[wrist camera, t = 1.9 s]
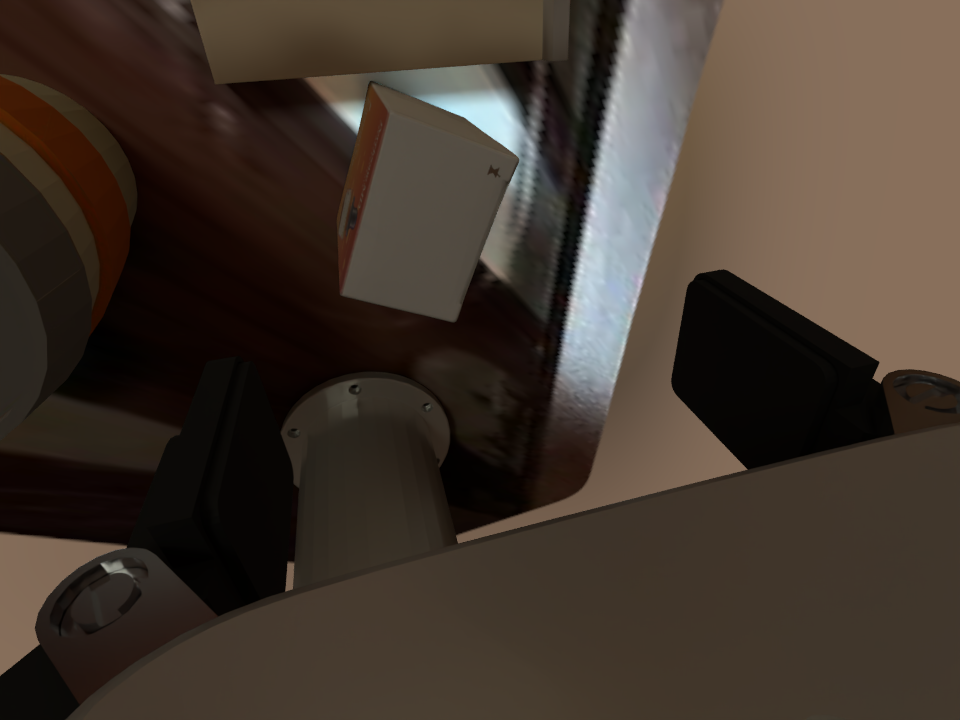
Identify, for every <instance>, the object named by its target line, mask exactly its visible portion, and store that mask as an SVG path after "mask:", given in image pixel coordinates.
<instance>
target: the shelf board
mask: <svg viewBox="0 0 960 720" xmlns="http://www.w3.org/2000/svg"><path fill="white" fill-rule="evenodd" d="M191 4H192V7H193V10H194V14H195V17H196V21H197V24H198V27H199V31H200V34H201V37H202V41H203V44H204V48H205V51H206V54H207V58H208V61H209V65H210V68H211V71H212V75H213V78H214V81H215V84H225V83H239V82H252V81H265V80H279V79H292V78H306V77H319V76H333V75H346V74H359V73H373V72H386V71H400V70H413V69H427V68H440V67H454V66H467V65H480V64H494V63H507V62H521V61H534V60H546V61H566V60H568V41H569V16H570V0H191Z"/></svg>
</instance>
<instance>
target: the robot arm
mask: <svg viewBox="0 0 960 720" xmlns="http://www.w3.org/2000/svg"><path fill="white" fill-rule="evenodd" d="M878 365H879V361H877V360H875V359H873V358H872V357H870V356H869V355H867V354H865V353H864V352H862V351H860V350H859V349H857V348H855V347H854V346H852V345H850V344H849V343H847V342H845V341H844V340H842V339H840V338H838V337H837V336H835V335H833V334H832V333H830V332H829V331H827V330H825V329H824V328H822V327H820V326H819V325H817V324H815V323H814V322H812V321H810V320H809V319H807V318H805V317H804V316H802V315H800V314H799V313H797V312H795V311H794V310H792V309H790V308H789V307H787V306H786V305H784V304H782V303H780V302H779V301H777V300H775V299H774V298H772V297H771V296H769V295H767V294H766V293H764V292H762V291H761V290H759V289H757V288H756V287H754V286H752V285H750V284H749V283H747V282H746V281H744V280H742V279H741V278H739V277H737V276H736V275H734V274H732V273H731V272H729V271H727V270H717V271H712V272H706V273H700V274H698V275H697V276H696V277H695V278H694V280H693V281H692V282H690V284H689V285H688V287H687V292H686V297H685V303H684V309H683V315H682V321H681V326H680V332H679V338H678V344H677V349H676V356H675V361H674V367H673V373H672V378H671V382H672V388H673V390H674V392H675V394H676V395H677V396H678V397H679V398H680V399H681V400H682V401H683V402H684V403H685V404H686V405H687V407H688V408H689V409H690V410H691V411H692V412H693V413H694V414H695V415H696V416H697V417H698V418H699V419H700V420H701V421H702V422H703V423H704V424H705V425H706V426H707V427H708V429H710V431H711V432H713V434H714V435H715V436H716V437H717V438H718V439H719V440H720V441H721V442H722V443H723V444H724V445H725V446H726V447H727V448H728V449H729V450H730V452H731V453H733V455H734V456H735V457H736V458H737V459H738V460H739V461H740V462H741V463H742V464H743V465H744V466H745V467H746V468H747V469H748V470H745V471H741V472H737V473H733V474H729V475H725V476H721V477H717V478H713V479H709V480H705V481H701V482H697V483H693V484H689V485H685V486H681V487H677V488H673V489H669V490H665V491H661V492H657V493H654V494H649V495H646V496H641V497H638V498H634V499H630V500H626V501H622V502H618V503H614V504H610V505H606V506H602V507H598V508H594V509H591V510H587V511H583V512H579V513H575V514H571V515H567V516H563V517H559V518H555V519H552V520H547V521H544V522H540V523H536V524H532V525H528V526H525V527H521V528H517V529H513V530H509V531H505V532H501V533H497V534H494V535H490V536H486V537H482V538H478V539H474V540H471V541H467V542H463V543H459V544H458V542H457V538H456V534H455V530H454V526H453V522H452V518H451V514H450V510H449V506H448V502H447V498H446V494H445V490H444V486H443V482H442V478H441V474H440V470H439V468H440V466H441V465H442V463H443V461H444V459H445V457H446V455H447V453H448V449H449V445H450V428H449V423H448V419H447V416H446V414H445V411H444V408H443V406H442V405H441V404H440V402H439V401H438V399H437V398H436V397H435V396H434V395H433V394H432V393H431V392H430V391H429V390H428V389H427V388H426V387H424V386H422V385H421V384H419V383H417V382H416V381H414V380H411V379H409V378H406V377H403V376H400V375H396V374H391V373H385V372H359V373H352V374H346V375H343V376H340V377H336V378H333V379H330V380H328V381H326V382H324V383H322V384H320V385H318V386H316V387H314V388H313V389H312V390H310V391H309V392H307V393H306V394H305V395H303V396H302V397H301V398H300V399H299V400H298V401H297V402H296V403H295V405H294V406H293V407H292V408H291V410H290V411H289V413H288V415H287V416H286V418H285V419H284V422H283V426H282V429H281V432H280V430H279V427H278V425H277V422H276V419H275V417H274V414H273V411H272V409H271V406H270V403H269V401H268V398H267V395H266V393H265V390H264V387H263V385H262V382H261V379H260V377H259V374H258V371H257V369H256V366H255V364H254V363H253V362H252V361H250V362H244V361H243V360H242V358H241V357H240V356H236V357H230V358H224V359H219V360H213V361H208V362H207V363H206V365H205V367H204V370H203V373H202V376H201V378H200V381H199V384H198V387H197V389H196V392H195V395H194V398H193V400H192V403H191V406H190V409H189V411H188V414H187V417H186V420H185V422H184V425H183V428H182V431H181V433H180V435H178V436H174V437H172V438H171V439H170V440H169V442H168V443H167V445H166V448H165V450H164V453H163V455H162V458H161V460H160V463H159V466H158V468H157V471H156V473H155V476H154V479H153V481H152V484H151V486H150V489H149V491H148V494H147V497H146V499H145V502H144V504H143V507H142V510H141V512H140V515H139V517H138V520H137V522H136V525H135V528H134V530H133V533H132V535H131V538H130V540H129V543H128V546H127V548H126V549H120V550H115V551H112V552H109V553H107V554H104V555H102V556H99V557H96V558H95V559H93V560H91V561H89V562H88V563H86V564H85V565H83V566H81V567H79V568H78V569H76V570H75V571H74V572H73V573H71V574H70V575H69V576H68V577H66V578H65V579H64V580H63V581H62V582H61V583H60V584H59V585H58V586H57V587H56V588H55V589H54V590H53V592H52V593H51V594H50V595H49V596H48V597H47V599H46V601H45V603H44V604H43V606H42V608H41V609H40V611H39V613H38V616H37V621H36V626H35V631H36V635H37V638H38V641H39V643H40V645H38V646H37V647H36V648H35V649H33V650H32V651H31V652H30V653H28V654H27V655H26V656H25V657H23V658H22V659H21V660H20V661H18V662H17V663H16V664H15V665H13V666H12V667H11V668H10V669H8V670H7V671H6V672H5V673H3V674H2V675H1V676H0V720H960V382H959V381H957V380H955V379H952V378H949V377H946V376H943V375H940V374H936V373H932V372H927V371H921V370H910V369H909V370H897V371H894V372H890V373H888V374H887V375H886V376H885V377H884V378H883V380H882V382H881V384H880V383H878V382H877V381H875V380H874V379H872V378H873V376H874V374H875V371H876V369H877V367H878ZM293 483H294V484H295V485H296V486H297V487H298V488H299V499H298V516H297V532H296V548H295V565H294V582H293V590H290V591H286V592H285V587H286V574H287V561H288V548H289V535H290V521H291V508H292V495H293Z"/></svg>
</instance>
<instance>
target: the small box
mask: <svg viewBox="0 0 960 720" xmlns="http://www.w3.org/2000/svg"><path fill="white" fill-rule="evenodd" d="M518 163H519V158H518V157H517V156H516V155H515V154H514V153H512V152H511V151H509V150H508V149H507V148H505V147H504V146H503V145H501V144H500V143H498V142H497V141H495V140H494V139H493V138H491V137H490V136H488V135H487V134H485V133H484V132H483V131H481V130H480V129H479V128H477V127H476V126H475V125H473V124H472V123H471V122H469V121H468V120H467V119H465V118H464V117H461V116H459V115H456V114H454V113H451V112H449V111H446V110H444V109H441V108H439V107H436V106H434V105H431V104H429V103H426V102H424V101H421V100H419V99H416V98H414V97H411V96H409V95H406V94H404V93H401V92H399V91H396V90H394V89H391V88H389V87H386V86H384V85H381V84H379V83H376V82H373V81H370V82H369V85H368V89H367V94H366V99H365V104H364V109H363V113H362V118H361V122H360V127H359V131H358V135H357V139H356V143H355V147H354V151H353V155H352V159H351V163H350V167H349V171H348V175H347V179H346V183H345V187H344V191H343V195H342V199H341V203H340V207H339V211H338V215H337V230H338V253H339V284H340V295H341V296H344V297H348V298H353V299H357V300H361V301H365V302H369V303H373V304H378V305H382V306H386V307H390V308H394V309H399V310H403V311H407V312H411V313H415V314H420V315H424V316H428V317H432V318H437V319H441V320H445V321H449V322H456V321H457V319H458V316H459V313H460V310H461V307H462V304H463V300H464V298H465V295H466V292H467V289H468V287H469V284H470V281H471V279H472V276H473V273H474V271H475V268H476V265H477V263H478V260H479V258H480V255H481V252H482V250H483V247H484V245H485V242H486V239H487V237H488V234H489V232H490V229H491V227H492V224H493V221H494V219H495V216H496V214H497V211H498V209H499V206H500V204H501V201H502V199H503V197H504V194H505V192H506V189H507V187H508V185H509V183H510V181H511V179H512V176H513V174H514V172H515V169H516V167H517V165H518Z"/></svg>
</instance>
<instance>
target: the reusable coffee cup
mask: <svg viewBox="0 0 960 720" xmlns="http://www.w3.org/2000/svg"><path fill="white" fill-rule="evenodd" d="M137 196H138V194H137V188H136V181H135V176H134V174H133V171H132V168H131V166H130V163H129V160H128V158H127V157H126V155H125V153H124V152H123V150H122V148H121V147H120V145H119V143H118V142H117V141H116V139H115V138H114V137H113V136H112V134H111V133H110V132H109V131H108V130H107V128H106V127H105V126H104V125H103V124H102V123H101V122H100V121H99V120H98V119H96V118H95V117H94V116H93V115H92V114H91V113H90V112H89V111H88V110H86V109H85V108H84V107H82V106H81V105H79V104H78V103H76V102H75V101H73V100H72V99H70V98H69V97H67V96H66V95H64V94H62V93H60V92H58V91H56V90H54V89H51V88H49V87H47V86H45V85H43V84H40V83H37V82H34V81H31V80H27V79H24V78H21V77H16V76H9V75H2V74H0V440H1V439H3V438H4V437H5V436H6V435H7V434H8V433H10V432H11V431H12V430H13V429H14V428H15V427H17V426H18V425H19V424H20V423H21V422H22V421H24V420H25V419H26V418H27V417H28V416H29V415H30V414H31V413H32V412H33V411H34V410H35V409H36V408H37V407H38V406H39V405H40V404H41V403H42V402H43V401H44V400H46V399H47V398H48V397H49V396H50V395H51V394H52V393H53V392H54V391H55V390H56V389H57V388H58V387H59V386H60V385H61V384H62V383H63V382H64V381H65V380H67V378H68V377H69V375H70V374H71V372H72V371H73V369H74V368H75V366H76V365H77V364H78V362H79V361H80V359H81V358H82V356H83V353H84V350H85V347H86V344H87V341H88V338H89V336H90V335H91V333H92V332H93V330H94V329H95V327H96V326H97V324H98V323H99V322H100V320H101V319H102V317H103V315H104V313H105V311H106V308H107V306H108V304H109V301H110V299H111V296H112V294H113V292H114V289H115V287H116V285H117V282H118V280H119V277H120V275H121V273H122V270H123V267H124V264H125V261H126V258H127V255H128V252H129V246H130V230H131V228H130V227H131V225H132V222H133V219H134V216H135V213H136V210H137Z"/></svg>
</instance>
